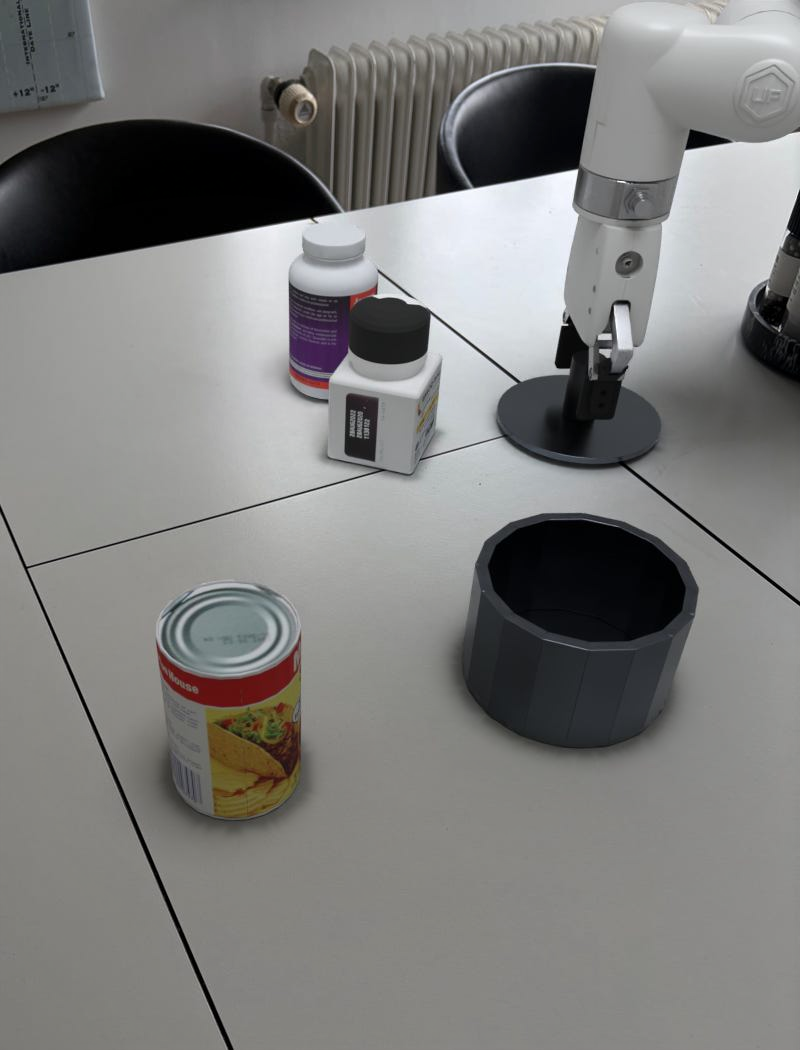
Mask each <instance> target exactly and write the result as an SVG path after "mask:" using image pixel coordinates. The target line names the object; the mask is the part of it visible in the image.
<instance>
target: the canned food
mask: <svg viewBox="0 0 800 1050" xmlns="http://www.w3.org/2000/svg"><path fill="white" fill-rule="evenodd" d="M154 636H155V637H154V638H155V645H156V653H157V654H156V655H157V661H158V668H159V676H160V677H159V678H160V686H161V693H162V700H163V709H164V716H165V723H166V725H165V726H166V731H167V740H168V747H169V748H168V749H169V756H170V764H171V770H172V779H173V783H174V785H175V788H176V791H177V793H178V794H179V795H180V796H181V798H182V800H183V801H184V802H185V803H186V804H188V806H190V807H191V808H192V809H194V810H196V812H198V813H201V814H203V815H205V816H208V817H211V818H213V819H219V820H227V821H241V820H250V819H253V818H257V817H261V816H264V815H266V814H268V813H270V812H271V811H274V810H276V809H277V808H279V807H280V806H281V805H283V804H284V803H285V802H286V801H287V800H288V799H289V798H291V795H292V794H293V793H294V792H295V789H296V788H297V786H298V784H299V780H300V777H301V772H302V625H301V616H300V613H299V612H298V610H297V608H296V606H295V605H294V603H293V602H292V601H291V600H290V599H289V598H288V597H286V595H284V594H283V593H282V592H280V591H278V590H276V589H275V588H273V587H271V586H270V585H265V584H262V583H259V582H256V581H254V580H253V581H252V580H246V579H245V580H244V579H237V578H235V579H217V580H212V581H208V582H203V583H199V584H196V585H193V586H192V587H189V588H186V589H185V590H183V591H181V592H180V593H178V594H176V595H175V596H174V597H172V598H171V599H170V600H169V601H168V602H167V603H166V604H165V606H164V607H163V608H161V610H160V613H159V615H158V617H157V619H156V621H155V631H154Z"/></svg>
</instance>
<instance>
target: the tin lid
mask: <svg viewBox="0 0 800 1050" xmlns="http://www.w3.org/2000/svg"><path fill="white" fill-rule="evenodd" d="M605 358H607V356H606V355H605V354H603V353H601V352H599V364H600V363H601V362H602V361H603V360H604V359H605ZM588 372H589V350H583V351H578V352H576V353H575V354H574V355H573V357H572V362H571V367H570V369H569V372H568V373H569V374H550V375H541V376H536V377H532V378H528V379H524V380H522V381H520V382H517V383H515V384H513V385H512V386H510V387H509V388H507V389H506V390H505V392H503V394H501V396H500V398H499V399H498V403H497V406H496V419H497V422H498V424H499V426H500V428H501V429H502V430H503V432H504V433H505V434H506V435H507V436H508V438H510V439H511V440H513V441H514V442H515V443H517V444H518V445H520V446H522V447H524V448H525V449H527V450H529V451H531V452H533V453H536V454H538V455H540V456H543V457H547V458H551V459H554V460H558V461H563V462H568V463H573V464H575V463H576V464H584V465H585V464H587V465H601V464H602V465H604V464H614V463H619V462H625V461H627V460H628V461H629V460H631V459H634V458H636V457H639V456H641V455H644V454H645V453H646V452H648V451H649V450H650V449H651V448H653V447H654V446H655V444H656V443H657V441H658V440H659V438H660V435H661V431H662V420H661V418H660V415H659V413H658V411H657V410H656V408H655V406H653V405H652V404H651V403H650V402H649V401H648V400H647V399H645V397H643V396H641V394H639V393H637V392H636V391H633V390H631V389H630V388H627V387H626V386H623V385H621V389H620V393H619V398H618V402H617V406H616V410H615V415H614V417H613V418H612V419H610V420H579V419H578V418H577V416H576V410H577V405H578V400H579V395H580V391H581V386H582V381H583V376H584V375H588Z"/></svg>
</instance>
